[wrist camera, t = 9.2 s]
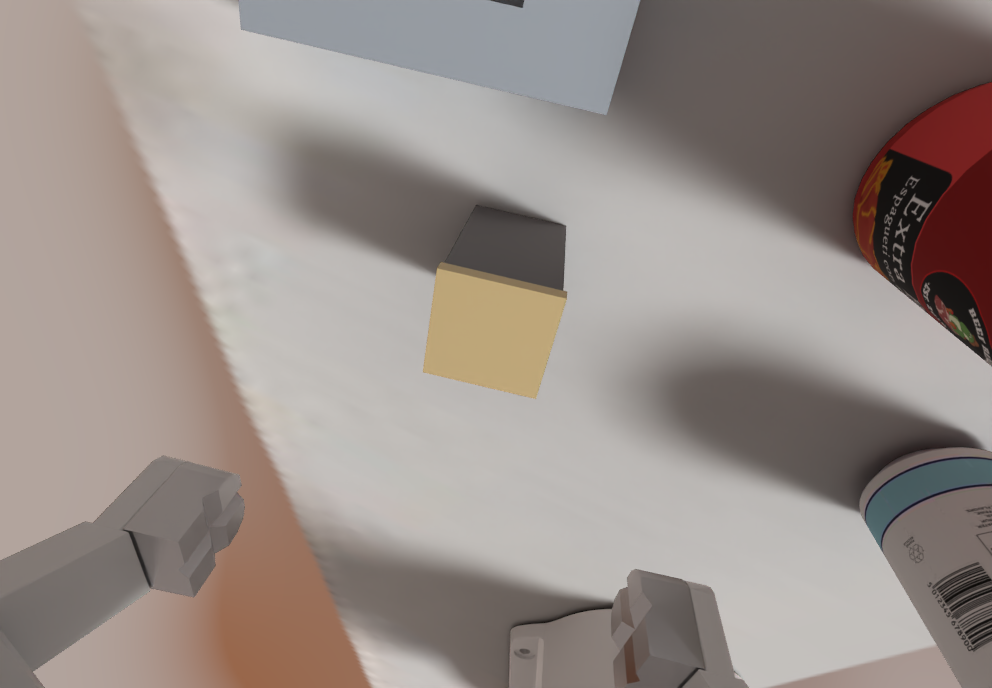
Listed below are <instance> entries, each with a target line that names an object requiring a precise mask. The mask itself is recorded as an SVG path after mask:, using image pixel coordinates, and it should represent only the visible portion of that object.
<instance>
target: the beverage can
mask: <svg viewBox="0 0 992 688" xmlns="http://www.w3.org/2000/svg"><path fill="white" fill-rule="evenodd" d="M859 508H860V513H861V516H862V518H863V519H864V521H865V523H866V524H867V526H868V528H869V530H870V531H871V533H872V535H873V536H874V538H875V540H876V542H877V543H878V545H879V547H880V548H881V550H882V552H883V554H884V555H885V557H886V559H887V560H888V562H889V564H890V566H891V567H892V569H893V571H894V572H895V574H896V576H897V578H898V579H899V581H900V583H901V584H902V586H903V588H904V590H905V591H906V593H907V595H908V596H909V598H910V600H911V602H912V603H913V605H914V607H915V608H916V610H917V612H918V614H919V615H920V617H921V619H922V620H923V622H924V624H925V626H926V627H927V629H928V631H929V632H930V634H931V636H932V637H933V639H934V641H935V643H936V644H937V646H938V648H939V649H940V651H941V653H942V654H943V656H944V658H945V660H946V661H947V663H948V665H949V666H950V668H951V670H952V672H953V673H954V675H955V677H956V679H957V680H958V682H959V683H960V685H961V687H962V688H992V452H990V451H986V450H982V449H976V448H965V447H953V448H934V449H925V450H920V451H916V452H912V453H909V454H906V455H904V456H901V457H899V458H897V459H895V460H894V461H892V462H890V463H889V464H888V465H886V466H885V467H884V468H883V469H882V470H881V471H880V472H879V473H878V474H877V475H876V476H875V477H874V478H873V479H872V480H871V481H870V482H869V483H868V484H867V486H866V487H865V489H864V490H863V493H862V495H861V498H860V503H859Z"/></svg>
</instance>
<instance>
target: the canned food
mask: <svg viewBox="0 0 992 688" xmlns="http://www.w3.org/2000/svg"><path fill="white" fill-rule="evenodd" d="M853 224H854V232H855V235H856V239H857V242H858V245H859V247H860V249H861V252H862V254H863V256H864V257H865V259H866V260H867V261H868V262H869V264H870V265H871V266H872V267H873V268H874V269H875V270H876V271H877V272H878V273H880V274H881V275H882V276H883V277H884V278H886V279H887V280H888V281H889V282H890V283H892V284H893V285H894V286H895V287H897V288H898V289H899V290H900V291H901V292H903V293H904V294H905V295H906V296H907V297H909V298H910V299H911V300H912V301H913V302H915V303H916V304H917V305H918V306H919V307H921V308H922V309H923V310H924V311H925V312H927V313H928V314H929V315H930V316H932V317H933V318H934V319H935V320H936V321H938V322H939V323H940V324H941V325H942V326H944V327H945V328H946V329H947V330H948V331H950V332H951V333H952V334H953V335H954V336H956V337H957V338H958V339H959V340H960V341H962V342H963V343H964V344H965V345H967V346H968V347H969V348H970V349H971V350H973V351H974V352H975V353H976V354H977V355H979V356H980V357H981V358H982V359H983V360H985V361H986V362H987V363H988V364H989V365H991V366H992V82H990V83H986V84H983V85H979V86H977V87H974V88H971V89H969V90H966V91H963V92H961V93H958V94H955V95H953V96H951V97H949V98H947V99H945V100H944V101H942V102H940V103H938V104H936V105H934V106H932V107H931V108H929V109H927V110H926V111H924V112H923V113H922V114H920V115H919V116H918V117H916V118H915V119H913V120H912V121H911V122H909V123H908V124H906V125H905V126H904V127H903V128H902V129H901V130H900V131H899V132H898V133H897V134H896V135H895V136H894V137H892V138H891V139H890V140H889V141H888V142H887V143H886V145H885V146H884V147H883V148H882V150H881V151H880V152H879V153H878V155H877V156H876V157H875V158H874V160H873V161H872V162H871V164H870V166H869V168H868V169H867V171H866V173H865V175H864V176H863V178H862V180H861V183H860V185H859V188H858V191H857V194H856V197H855V201H854V209H853Z"/></svg>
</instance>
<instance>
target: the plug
mask: <svg viewBox="0 0 992 688" xmlns="http://www.w3.org/2000/svg"><path fill="white" fill-rule="evenodd" d="M565 241H566V226H565V225H560V224H556V223H552V222H548V221H543V220H539V219H535V218H531V217H526V216H522V215H518V214H514V213H509V212H505V211H501V210H496V209H492V208H488V207H484V206H479V205H476V207H475V208H474V210H473V212H472V214H471V216H470V217H469V219H468V221H467V223H466V225H465V227H464V228H463V230H462V232H461V234H460V236H459V238H458V239H457V241H456V243H455V245H454V247H453V248H452V250H451V252H450V254H449V256H448V258H447V259H446V261H445V263H443V262H440V264H439V266H438V267H437V272H436V279H435V287H434V294H433V301H432V309H431V316H430V324H429V331H428V338H427V346H426V353H425V360H424V368H423V372H425V373H429V374H433V375H437V376H441V377H446V378H450V379H454V380H458V381H462V382H467V383H471V384H475V385H479V386H484V387H488V388H492V389H496V390H500V391H505V392H509V393H513V394H517V395H521V396H526V397H530V398H534V399H536V396H537V393H538V390H539V387H540V384H541V380H542V377H543V374H544V371H545V367H546V364H547V361H548V358H549V355H550V351H551V348H552V345H553V342H554V338H555V335H556V332H557V329H558V325H559V322H560V319H561V316H562V313H563V309H564V306H565V303H566V300H567V292H566V291H563V286H564V263H565Z"/></svg>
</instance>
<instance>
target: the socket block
mask: <svg viewBox="0 0 992 688" xmlns="http://www.w3.org/2000/svg"><path fill="white" fill-rule="evenodd" d="M639 3H640V0H524V4H523V8H520V7H516V6H511V5H507V4H503V3H498V2H494V1H490V0H239V12H240V24H241V30H245V31H249V32H254V33H258V34H262V35H266V36H271V37H275V38H279V39H283V40H288V41H292V42H296V43H301V44H305V45H309V46H313V47H318V48H322V49H326V50H330V51H335V52H339V53H343V54H347V55H352V56H356V57H360V58H364V59H369V60H373V61H377V62H382V63H386V64H390V65H394V66H399V67H403V68H407V69H411V70H416V71H420V72H424V73H428V74H433V75H437V76H441V77H445V78H450V79H454V80H458V81H463V82H467V83H471V84H475V85H480V86H484V87H488V88H492V89H497V90H501V91H505V92H509V93H514V94H518V95H522V96H526V97H531V98H535V99H539V100H543V101H548V102H552V103H556V104H561V105H565V106H569V107H573V108H578V109H582V110H586V111H590V112H595V113H599V114H603V115H607V112H608V109H609V105H610V102H611V99H612V95H613V92H614V88H615V85H616V82H617V78H618V75H619V71H620V68H621V65H622V61H623V58H624V54H625V51H626V47H627V44H628V41H629V37H630V34H631V30H632V27H633V24H634V20H635V17H636V13H637V10H638V7H639Z"/></svg>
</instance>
